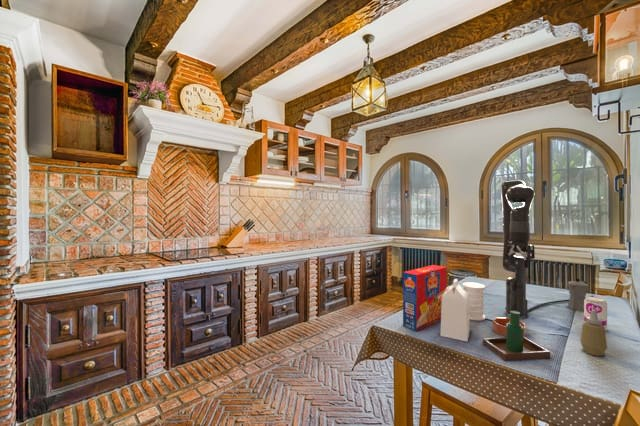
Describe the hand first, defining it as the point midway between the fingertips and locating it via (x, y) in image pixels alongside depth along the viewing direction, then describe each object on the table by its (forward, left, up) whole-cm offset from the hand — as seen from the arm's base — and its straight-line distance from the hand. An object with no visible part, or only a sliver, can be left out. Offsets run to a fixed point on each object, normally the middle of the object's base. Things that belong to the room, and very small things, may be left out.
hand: (519, 265), depth 131 cm
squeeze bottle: (-21, +15, -34) cm, 43 cm away
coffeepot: (-65, -32, -34) cm, 80 cm away
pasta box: (+34, -23, -34) cm, 53 cm away
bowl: (0, -6, -34) cm, 35 cm away
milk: (+26, -8, -34) cm, 44 cm away
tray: (+10, +10, -34) cm, 37 cm away
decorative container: (+5, -26, -34) cm, 43 cm away
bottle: (+10, +10, -33) cm, 36 cm away
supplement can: (-46, -6, -34) cm, 58 cm away
